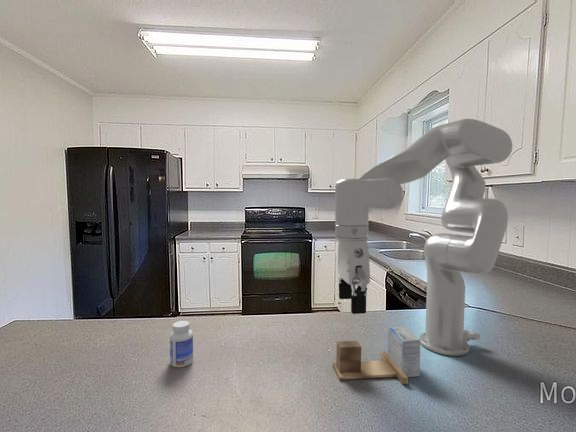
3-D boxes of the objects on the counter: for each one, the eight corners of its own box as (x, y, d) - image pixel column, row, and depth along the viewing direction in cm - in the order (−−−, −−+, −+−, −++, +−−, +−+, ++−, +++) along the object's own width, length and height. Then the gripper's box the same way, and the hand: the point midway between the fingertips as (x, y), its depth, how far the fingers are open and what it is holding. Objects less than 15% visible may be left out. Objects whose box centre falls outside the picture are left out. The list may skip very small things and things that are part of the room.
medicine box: (420, 377, 70) (421, 340, 70) (401, 378, 70) (402, 341, 69) (403, 359, 78) (404, 326, 78) (386, 360, 77) (387, 327, 77)
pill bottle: (197, 358, 77) (197, 321, 77) (183, 369, 72) (183, 329, 72) (179, 355, 79) (179, 318, 78) (165, 365, 74) (164, 326, 73)
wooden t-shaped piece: (384, 356, 79) (385, 331, 79) (407, 384, 67) (408, 354, 67) (329, 359, 77) (330, 333, 77) (343, 387, 65) (343, 357, 65)
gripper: (382, 236, 62) (382, 319, 63) (355, 228, 79) (355, 293, 80) (347, 237, 61) (346, 320, 62) (327, 229, 78) (327, 294, 79)
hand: (351, 305), depth 71 cm, fingers open, 9 cm apart
